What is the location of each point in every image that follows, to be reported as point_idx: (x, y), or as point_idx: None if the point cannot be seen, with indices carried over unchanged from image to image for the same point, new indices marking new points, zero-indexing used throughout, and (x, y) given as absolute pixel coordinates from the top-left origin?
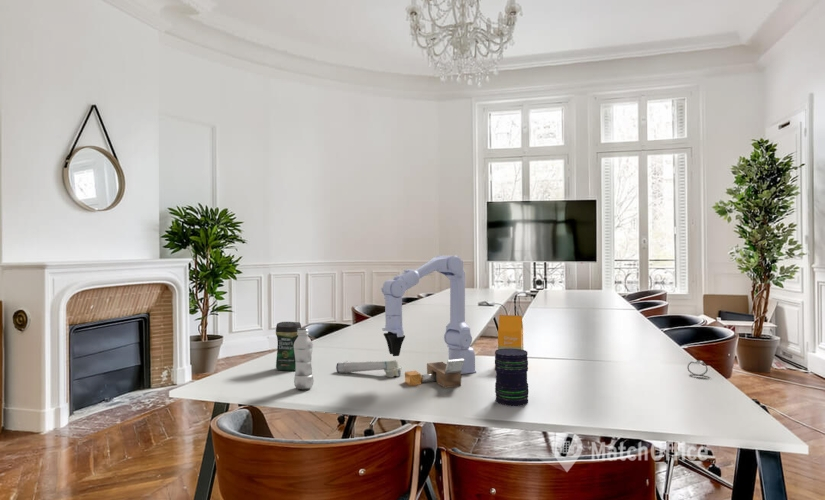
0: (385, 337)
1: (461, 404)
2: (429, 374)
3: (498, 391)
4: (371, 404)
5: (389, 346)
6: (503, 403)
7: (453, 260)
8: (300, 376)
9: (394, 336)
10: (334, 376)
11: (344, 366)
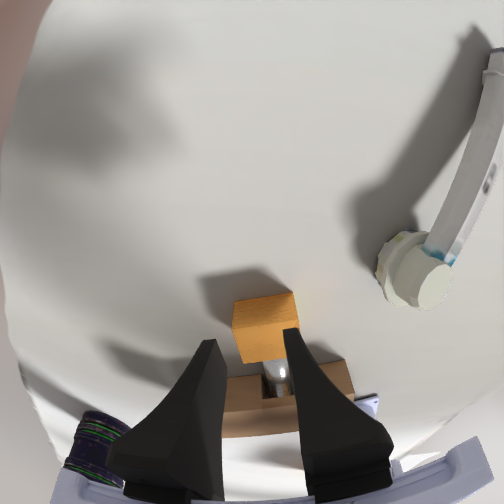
0: (338, 420)
1: (70, 367)
2: (274, 379)
3: (84, 427)
4: (33, 154)
5: (291, 371)
6: (84, 413)
7: None
8: None
9: (120, 476)
10: (449, 24)
11: (496, 71)
